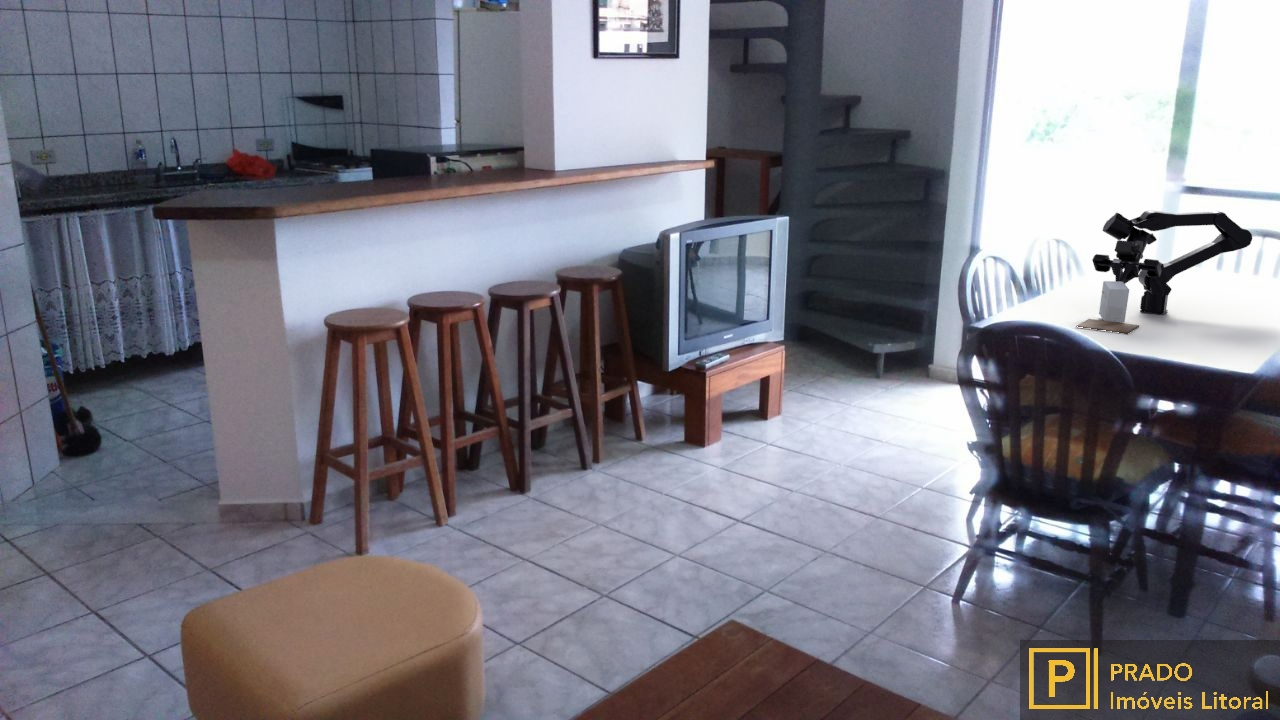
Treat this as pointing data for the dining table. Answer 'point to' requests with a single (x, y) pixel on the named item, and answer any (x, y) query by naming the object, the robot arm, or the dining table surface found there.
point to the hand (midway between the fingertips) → (1117, 287)
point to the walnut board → (1108, 326)
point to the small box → (1114, 301)
